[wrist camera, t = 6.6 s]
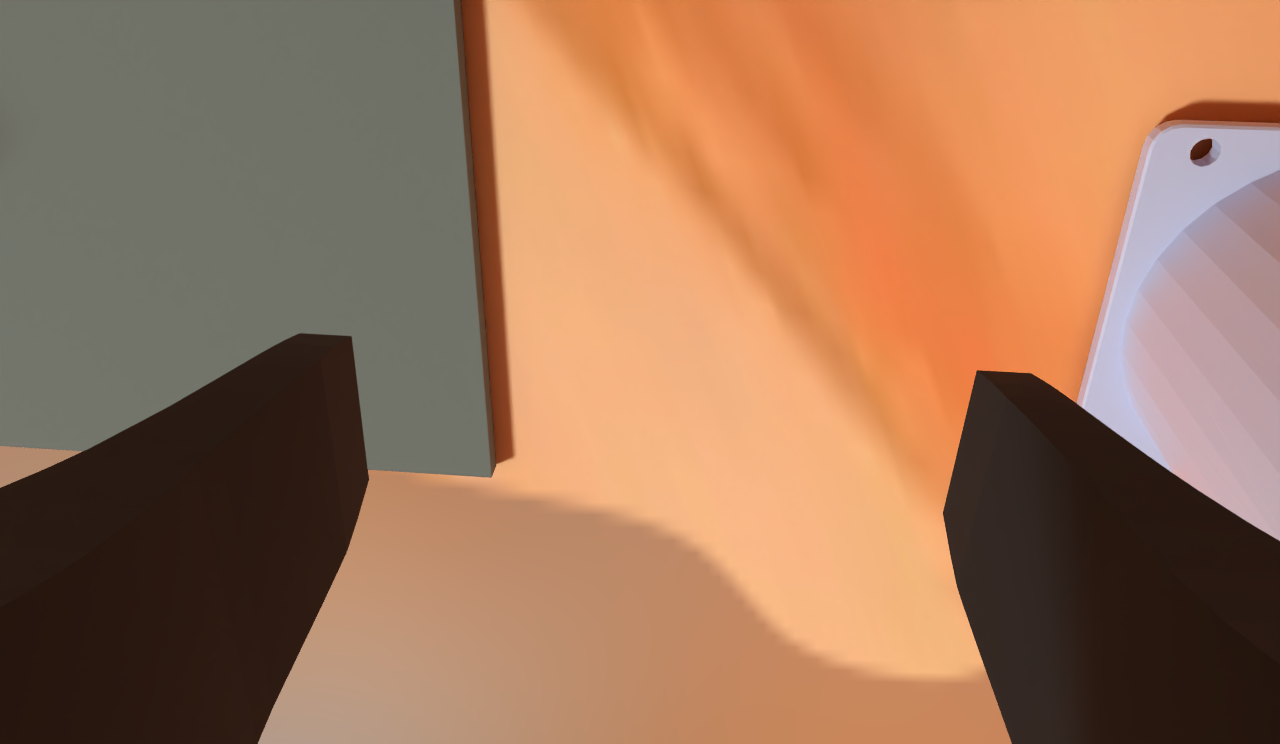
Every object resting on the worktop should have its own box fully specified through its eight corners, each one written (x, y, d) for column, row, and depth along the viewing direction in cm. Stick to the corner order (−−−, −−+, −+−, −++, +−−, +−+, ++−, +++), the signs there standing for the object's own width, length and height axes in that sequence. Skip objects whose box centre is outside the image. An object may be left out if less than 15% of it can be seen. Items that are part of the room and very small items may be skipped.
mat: (445, -196, 18) (437, -196, 17) (496, 465, 25) (491, 477, 24) (-293, -203, 19) (-318, -203, 18) (-47, 431, 26) (-61, 442, 25)
